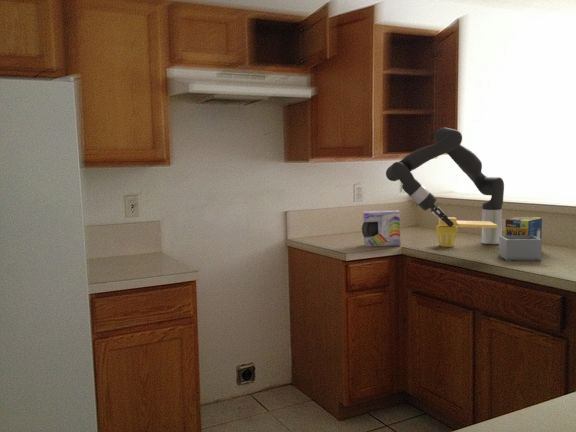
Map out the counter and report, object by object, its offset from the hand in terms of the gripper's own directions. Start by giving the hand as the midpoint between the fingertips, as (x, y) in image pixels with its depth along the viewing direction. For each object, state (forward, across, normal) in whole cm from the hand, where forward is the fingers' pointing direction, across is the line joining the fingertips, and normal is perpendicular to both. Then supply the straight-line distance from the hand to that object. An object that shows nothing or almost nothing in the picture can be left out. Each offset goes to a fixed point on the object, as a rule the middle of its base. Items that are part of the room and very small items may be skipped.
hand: (451, 224), depth 242 cm
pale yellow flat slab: (+5, 0, -4) cm, 6 cm away
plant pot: (+13, +31, +8) cm, 34 cm away
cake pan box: (-10, +33, +31) cm, 46 cm away
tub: (+30, -3, -10) cm, 32 cm away
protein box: (+34, +13, -14) cm, 39 cm away
